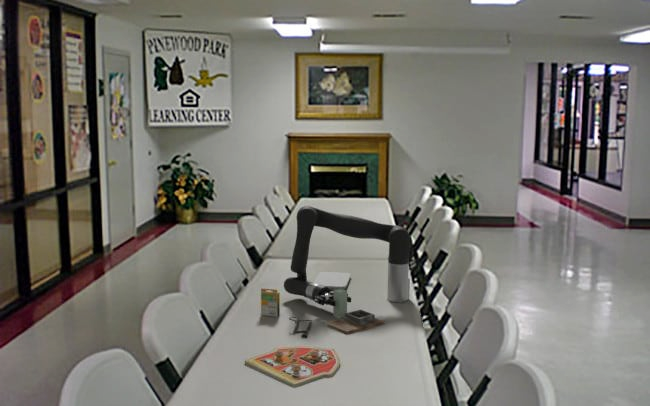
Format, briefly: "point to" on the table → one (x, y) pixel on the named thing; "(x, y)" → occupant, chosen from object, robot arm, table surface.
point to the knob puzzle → (297, 364)
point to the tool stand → (355, 322)
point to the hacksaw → (298, 326)
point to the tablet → (333, 280)
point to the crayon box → (270, 303)
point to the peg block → (340, 303)
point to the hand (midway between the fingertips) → (342, 302)
